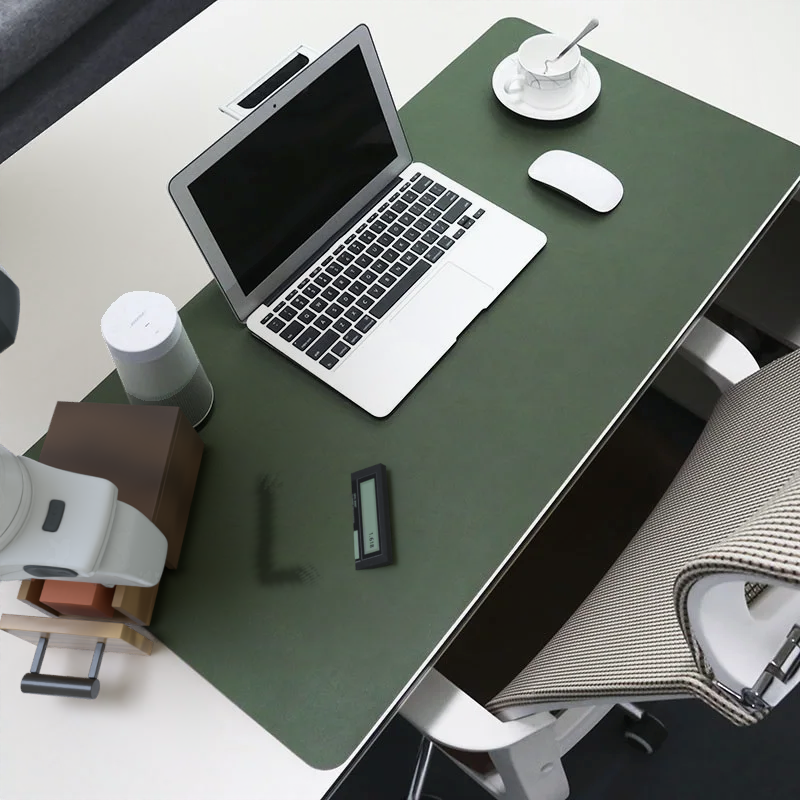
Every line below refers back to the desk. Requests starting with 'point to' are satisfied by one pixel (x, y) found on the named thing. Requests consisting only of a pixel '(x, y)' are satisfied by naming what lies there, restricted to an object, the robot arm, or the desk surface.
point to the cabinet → (132, 458)
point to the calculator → (371, 518)
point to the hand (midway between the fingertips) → (68, 574)
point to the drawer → (80, 636)
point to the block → (78, 598)
